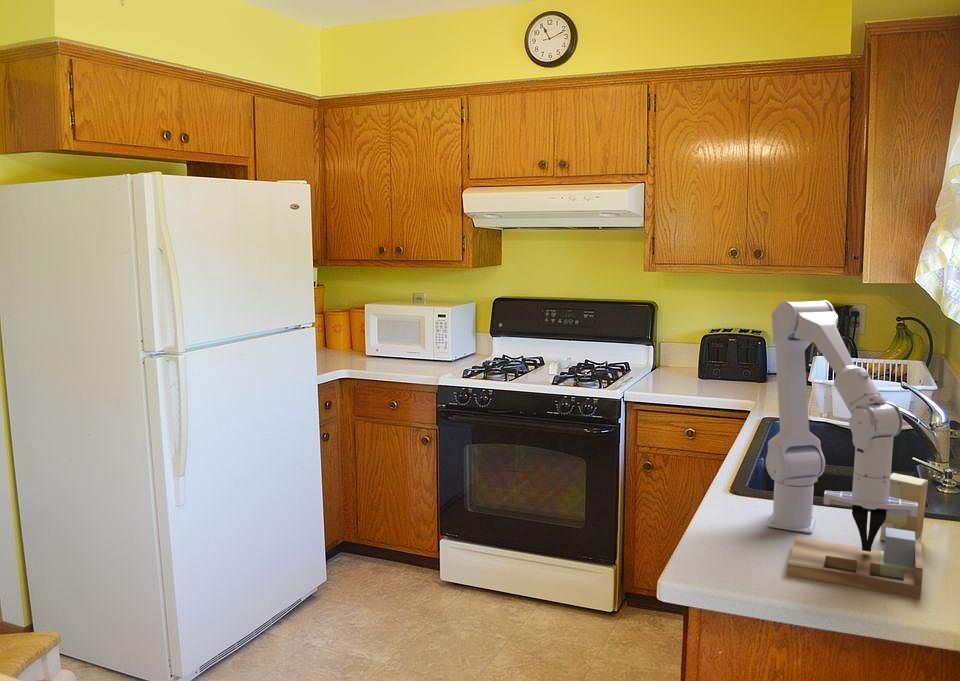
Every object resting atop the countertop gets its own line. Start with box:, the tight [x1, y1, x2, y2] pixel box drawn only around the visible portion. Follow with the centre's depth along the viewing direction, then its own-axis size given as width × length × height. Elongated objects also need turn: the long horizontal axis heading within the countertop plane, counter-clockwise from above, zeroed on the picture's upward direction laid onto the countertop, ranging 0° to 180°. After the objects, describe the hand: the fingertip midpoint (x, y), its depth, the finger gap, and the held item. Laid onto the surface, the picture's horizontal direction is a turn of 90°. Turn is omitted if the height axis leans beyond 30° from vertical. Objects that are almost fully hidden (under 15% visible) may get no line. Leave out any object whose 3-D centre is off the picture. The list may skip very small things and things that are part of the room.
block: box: [883, 527, 915, 566], centre depth 142 cm, size 4×4×4 cm
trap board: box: [786, 536, 924, 599], centre depth 142 cm, size 13×20×5 cm, turn 63°
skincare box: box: [879, 472, 929, 541], centre depth 154 cm, size 6×4×12 cm
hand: (866, 549), depth 144 cm, fingers closed
